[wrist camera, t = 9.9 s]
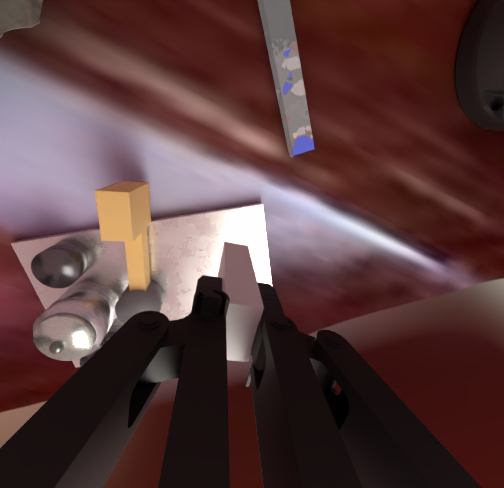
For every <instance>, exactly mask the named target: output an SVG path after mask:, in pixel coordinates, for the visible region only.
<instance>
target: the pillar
mask: <svg viewBox="0 0 504 488" xmlns="http://www.w3.org/2000/svg"><path fill="white" fill-rule="evenodd" d="M258 5H259V10H260V15H261V19H262V24H263V29H264V34H265V39H266V44H267V49H268V54H269V59H270V63H271V68H272V73H273V78H274V83H275V88H276V93H277V98H278V103H279V108H280V112H281V117H282V122H283V127H284V132H285V137H286V142H287V147H288V152H289V156H290V157H291V158H292V157H293V155H297V154H300V153H303V152H307V151H310V150H313V149H314V143H313V137H312V131H311V125H310V119H309V113H308V107H307V101H306V95H305V89H304V83H303V77H302V71H301V65H300V59H299V53H298V47H297V41H296V35H295V29H294V23H293V17H292V11H291V5H290V0H258Z"/></svg>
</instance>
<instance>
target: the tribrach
mask: <svg viewBox="0 0 504 488" xmlns="http://www.w3.org/2000/svg"><path fill="white" fill-rule="evenodd" d="M147 237H148V253H149V268H150V280H153V281H155V282H157V283H158V284H159V285H160V286H161V287H162V289H163V291H164V294H165V298H164V302H163V304H162V307H161V310H160V313H163V314H165V315H166V316H167V317H168V319H169V321H171V320H178V319H181V318H184V317H186V316H187V315H189V314H190V313H191V311H192V305H193V299H194V294H195V292H196V286H197V281H198V279H199V278H200V277H201V276H202V275H206V276H213V277H218V272H219V267H220V261H221V256H222V251H223V246H224V242H229V243H235V244H241V245H247V246H248V248H249V252H250V256H251V259H252V263H253V267H254V271H255V275H256V279H257V282H259V283H266V284H270V285H271V286H272V281H271V272H270V263H269V254H268V245H267V236H266V227H265V218H264V209H263V204H262V202H261V203H255V204H248V205H242V206H235V207H229V208H222V209H216V210H209V211H203V212H196V213H190V214H183V215H177V216H170V217H164V218H158V219H151V222H150V224H149V225H148V226H147ZM11 245H12V247H13V249H14V251H15V252H16V254H17V256H18V258H19V260H20V262H21V264H22V266H23V268H24V270H25V272H26V273H27V275H28V277H29V279H30V281H31V283H32V285H33V287H34V289H35V291H36V293H37V294H38V296H39V298H40V300H41V302H42V304H43V306H44V308H45V311H44V312H43V313H42V314H41V315H40V316H39V317H38V318H37V319H36V321H35V323H34V326H33V340H34V343H35V345H36V347H37V348H38V349H39V350H40V351H41V352H42V353H43V354H45V355H46V356H48V357H51V358H53V359H56V360H62V361H71V360H72V361H73V363H74V365H75V367H82V366H83V365H84V364H85V363H86V362H87V361H88V360H89V359H90V358H91V357H92V356H93V355H94V354H95V353H96V352H97V351H98V350H99V349H100V348H101V347H102V346H103V345H104V344H105V343H106V342H107V341H108V340H109V339H110V338H111V337H112V336H113V335H114V334H115V333H116V332H117V331H118V330H119V329H120V328H121V327H122V326H123V325H124V324H123V323H122V322H121V321H120V320H119V319H118V318H117V316H116V313H115V306H116V303H117V301H118V300H119V298H120V297H121V295H122V294H123V292H124V291H125V289H126V287H127V286H128V285H129V280H128V270H127V260H126V250H125V241H102V240H101V233H100V227H99V228H93V229H86V230H80V231H74V232H67V233H61V234H54V235H48V236H41V237H35V238H28V239H22V240H17V241H15V242H13V243H11Z"/></svg>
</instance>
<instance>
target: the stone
mask: <svg viewBox="0 0 504 488" xmlns="http://www.w3.org/2000/svg"><path fill="white" fill-rule="evenodd" d="M42 3H43V0H0V38H1V37H2V36H3V33H4V32H7V31H10V30H14V29H19V28H32V27H34V26H35V25H38V24H40V23H41V22H40V15H41V10H42Z"/></svg>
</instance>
